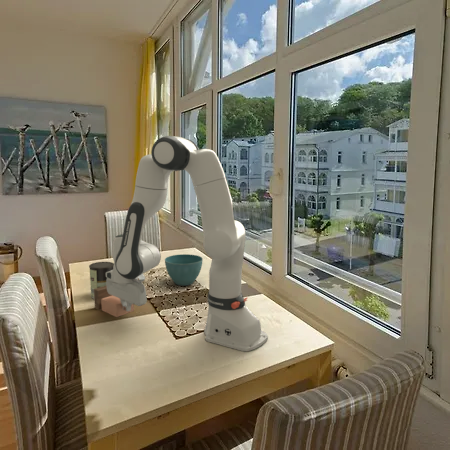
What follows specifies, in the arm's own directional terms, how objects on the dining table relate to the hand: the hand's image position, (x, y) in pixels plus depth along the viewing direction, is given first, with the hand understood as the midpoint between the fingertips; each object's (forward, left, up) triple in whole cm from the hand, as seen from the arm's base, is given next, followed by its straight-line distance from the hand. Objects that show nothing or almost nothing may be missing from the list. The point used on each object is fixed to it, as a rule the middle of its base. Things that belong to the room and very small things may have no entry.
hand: (126, 310), depth 137 cm
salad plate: (+37, -24, -3) cm, 45 cm away
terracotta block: (+7, -1, -2) cm, 7 cm away
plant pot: (+10, -41, -2) cm, 43 cm away
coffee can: (+25, -6, -2) cm, 26 cm away
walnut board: (+14, -6, -2) cm, 16 cm away
